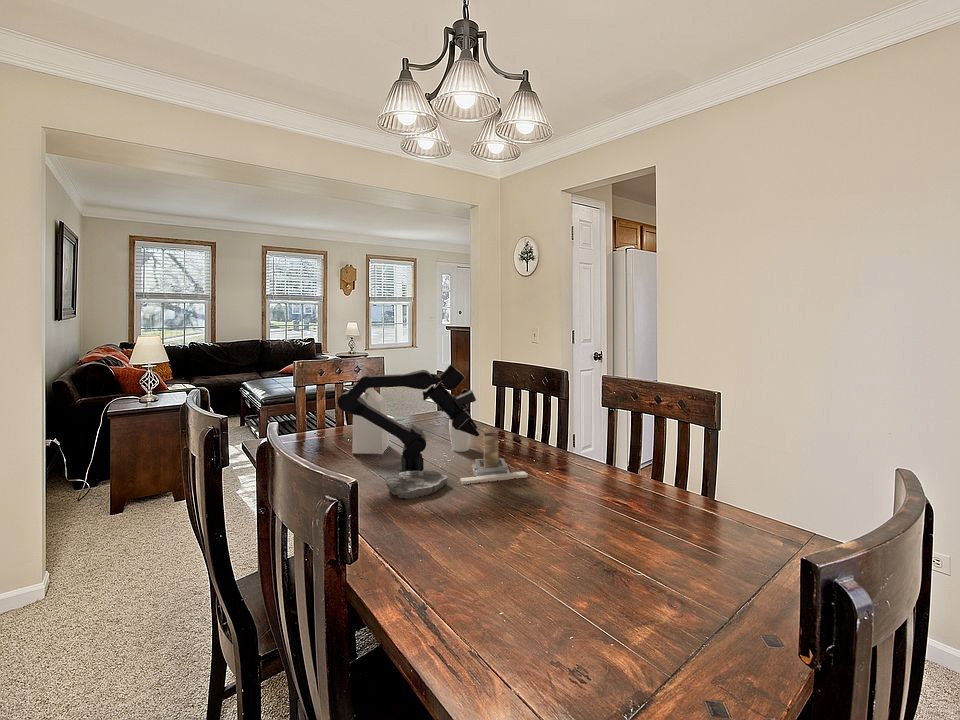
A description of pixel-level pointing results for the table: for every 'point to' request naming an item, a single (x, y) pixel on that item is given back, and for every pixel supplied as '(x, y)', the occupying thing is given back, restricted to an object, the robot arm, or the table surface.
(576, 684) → the table surface
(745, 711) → the table surface
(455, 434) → the cup
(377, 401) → the milk
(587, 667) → the table surface
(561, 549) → the table surface
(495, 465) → the block
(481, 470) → the keeper
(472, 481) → the door edge strip
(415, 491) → the brain slice
